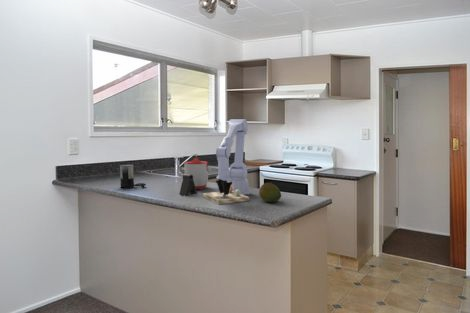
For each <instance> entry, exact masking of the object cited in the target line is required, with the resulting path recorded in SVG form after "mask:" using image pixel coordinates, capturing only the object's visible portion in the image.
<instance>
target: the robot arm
mask: <svg viewBox="0 0 470 313" xmlns="http://www.w3.org/2000/svg"><path fill="white" fill-rule="evenodd" d="M248 125H249V124H248V121H247V119H245V118H244V119H243V118H242V119H240V118H239V119H237V118H236V119H232V118H231V119H229V121H228V132H227V135H226V136H224V137H223V139H222V142H221V143H220V146H218V147H217V148H216V150H215V156H216V160H217V166H218V167H217V169H218V170H217V172H218V175H216V180H215V183H216V185H217V187H218V192H220V193H224V195H228V194H229V189H230V186H231V187H232V188H233V192H235V191H236V190H238V189H239V190H241V194H242V195H245V196H247V195H250V181H249V180H248V179H247V178H248V166H247V165H246V164H245V163H244V162H243V161H244V150H245V149H244V148H245V135H247V134H248ZM234 137H235V142H234ZM234 143H235V148H234V162H233V163H232V164H230V161H229V158H230V157H231V154H232V153H231V151H232V146H233V144H234Z"/></svg>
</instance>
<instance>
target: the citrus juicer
mask: <svg viewBox="0 0 470 313" xmlns="http://www.w3.org/2000/svg"><path fill="white" fill-rule="evenodd" d="M183 164H184V174H191V175H193V181H194V184H195V187H196V190H203V189H206V188H207V185H208V181H209V171H212V169H211V167H210V166H209V162H208V161H205V160H204V161H203V160H200V159H199V158H198V157H195V158H194V159H193V160H191V161H184V163H183Z"/></svg>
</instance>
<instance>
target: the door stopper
mask: <svg viewBox="0 0 470 313" xmlns="http://www.w3.org/2000/svg"><path fill="white" fill-rule="evenodd" d="M197 190H198V189H196V187H195V184H194V181H193V175H191V174H185V173H184V174H182V182H181V186H180V189H179V193H178V195H179V194H180V196H184V195H185V196H186V197H188V196H193V195H197V194H198V191H197ZM187 195H188V196H187ZM185 196H184V197H185Z"/></svg>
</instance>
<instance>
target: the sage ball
mask: <svg viewBox="0 0 470 313" xmlns="http://www.w3.org/2000/svg"><path fill="white" fill-rule="evenodd" d="M235 194H236V195H237V196H240V195H241V190H239V189H238V190H236V191H235Z"/></svg>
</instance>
